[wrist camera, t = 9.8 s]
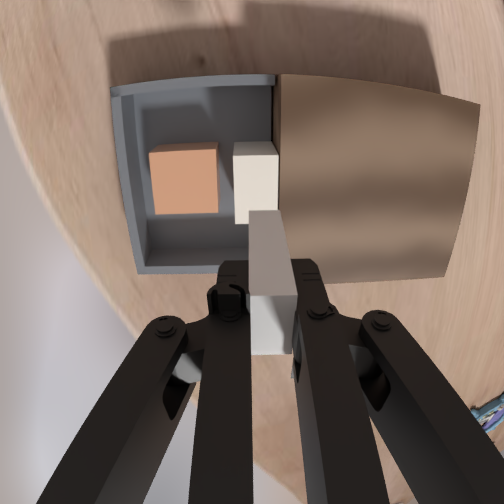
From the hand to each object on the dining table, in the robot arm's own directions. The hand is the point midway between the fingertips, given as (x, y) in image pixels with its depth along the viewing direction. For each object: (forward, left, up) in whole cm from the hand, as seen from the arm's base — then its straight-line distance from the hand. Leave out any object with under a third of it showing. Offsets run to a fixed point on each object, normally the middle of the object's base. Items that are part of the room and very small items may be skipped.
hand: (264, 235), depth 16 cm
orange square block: (0, -5, -9) cm, 10 cm away
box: (0, -5, -13) cm, 14 cm away
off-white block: (0, +1, -9) cm, 9 cm away
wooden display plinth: (0, +9, -13) cm, 16 cm away
